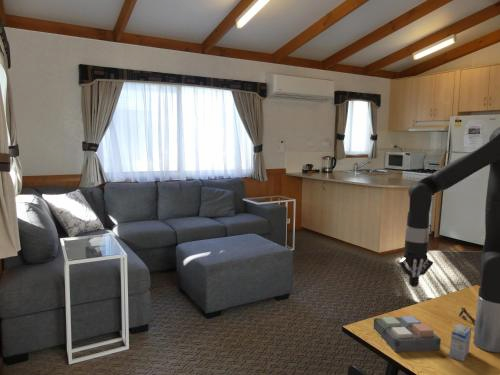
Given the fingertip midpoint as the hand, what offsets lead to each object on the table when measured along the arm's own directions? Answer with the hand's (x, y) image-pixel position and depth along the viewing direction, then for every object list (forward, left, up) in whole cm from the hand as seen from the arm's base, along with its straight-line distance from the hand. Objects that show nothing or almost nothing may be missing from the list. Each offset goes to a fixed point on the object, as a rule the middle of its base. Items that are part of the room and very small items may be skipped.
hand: (413, 286), depth 139 cm
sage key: (+8, 0, -15) cm, 17 cm away
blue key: (0, 0, -15) cm, 15 cm away
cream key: (+8, +8, -15) cm, 18 cm away
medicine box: (-9, +15, -18) cm, 25 cm away
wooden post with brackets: (-28, -7, -18) cm, 34 cm away
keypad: (+4, +4, -18) cm, 19 cm away
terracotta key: (0, +8, -14) cm, 16 cm away
